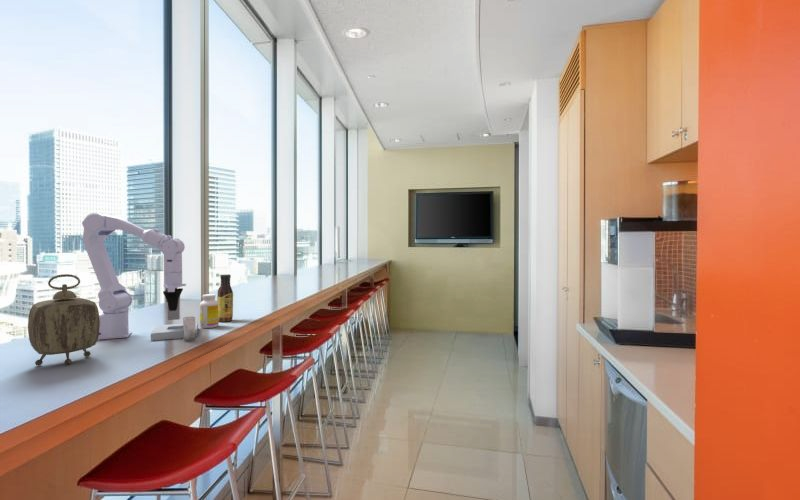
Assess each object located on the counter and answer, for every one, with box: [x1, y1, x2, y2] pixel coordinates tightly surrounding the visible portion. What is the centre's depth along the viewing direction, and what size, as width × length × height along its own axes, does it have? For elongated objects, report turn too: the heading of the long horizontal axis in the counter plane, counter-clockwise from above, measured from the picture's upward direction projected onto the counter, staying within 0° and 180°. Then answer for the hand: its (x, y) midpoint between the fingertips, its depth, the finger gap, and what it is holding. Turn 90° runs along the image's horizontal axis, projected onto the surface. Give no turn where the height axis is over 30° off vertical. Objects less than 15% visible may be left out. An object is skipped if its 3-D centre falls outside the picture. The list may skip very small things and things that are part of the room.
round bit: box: [183, 316, 196, 343], centre depth 137 cm, size 4×4×8 cm
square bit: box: [167, 295, 181, 321], centre depth 144 cm, size 4×4×8 cm
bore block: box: [150, 321, 199, 342], centre depth 146 cm, size 14×14×2 cm
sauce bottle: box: [216, 273, 234, 323], centre depth 170 cm, size 6×6×20 cm
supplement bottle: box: [199, 293, 219, 329], centre depth 159 cm, size 7×7×13 cm
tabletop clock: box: [27, 273, 100, 366], centre depth 112 cm, size 14×9×25 cm, turn 141°
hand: (173, 309), depth 144 cm, fingers closed on square bit, 4 cm apart
